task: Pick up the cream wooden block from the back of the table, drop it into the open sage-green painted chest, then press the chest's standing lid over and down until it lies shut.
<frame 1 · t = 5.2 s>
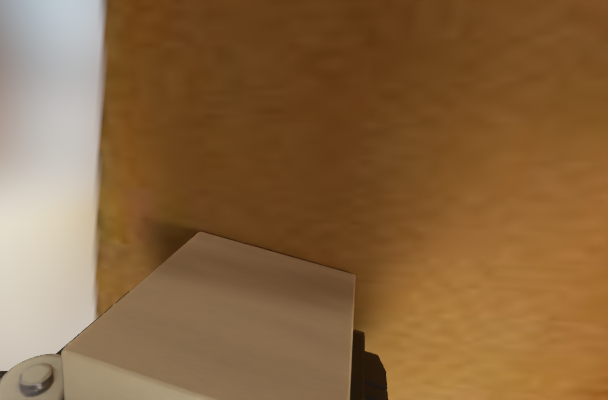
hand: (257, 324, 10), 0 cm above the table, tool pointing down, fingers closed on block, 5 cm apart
block: (262, 316, 11), on the table, touching gripper
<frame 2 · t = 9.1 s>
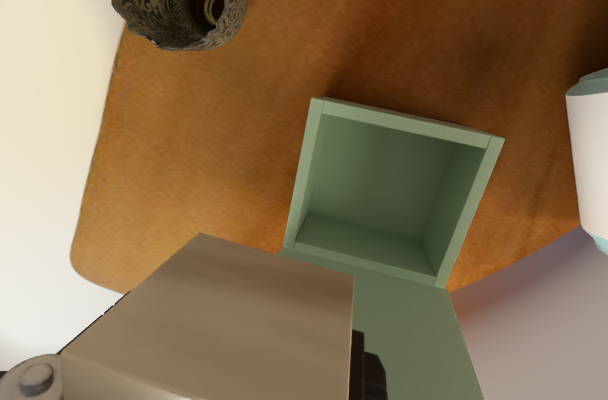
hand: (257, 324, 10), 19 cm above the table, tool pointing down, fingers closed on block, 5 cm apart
chest: (377, 174, 27), on the table
cup: (223, 11, 26), on the table
block: (262, 317, 11), point 19 cm above the table, touching gripper
lid: (358, 335, 17), point 13 cm above the table, hinge at 95.0°
when the fingers open (5 cm above the table, at t = 13.1 s): block drops 4 cm, resting on chest.
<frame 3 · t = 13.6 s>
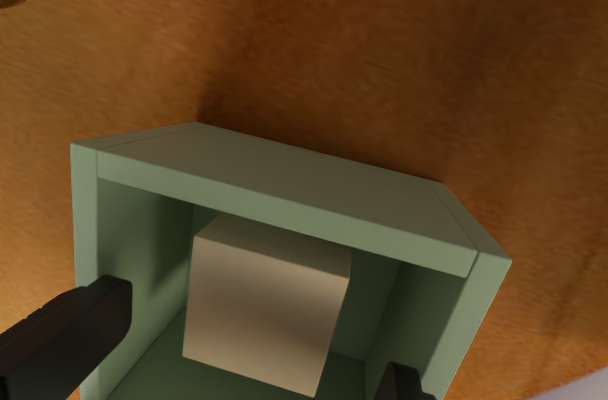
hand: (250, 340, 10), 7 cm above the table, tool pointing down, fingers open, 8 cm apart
chest: (291, 253, 16), on the table
block: (289, 252, 15), point 1 cm above the table, touching chest
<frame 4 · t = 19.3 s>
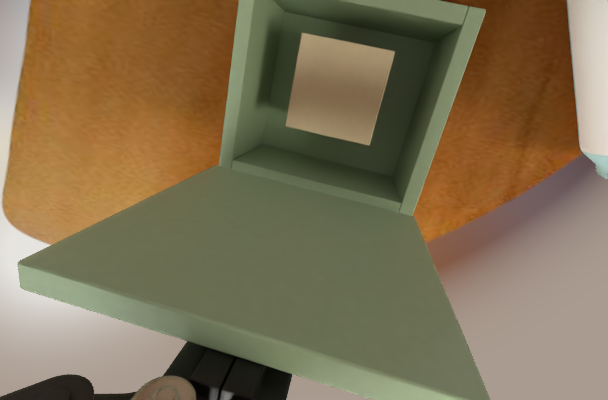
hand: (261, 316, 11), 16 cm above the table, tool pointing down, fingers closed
chest: (341, 97, 23), on the table
block: (342, 91, 22), point 1 cm above the table, touching chest
lid: (288, 239, 13), point 13 cm above the table, hinge at 89.6°, touching gripper
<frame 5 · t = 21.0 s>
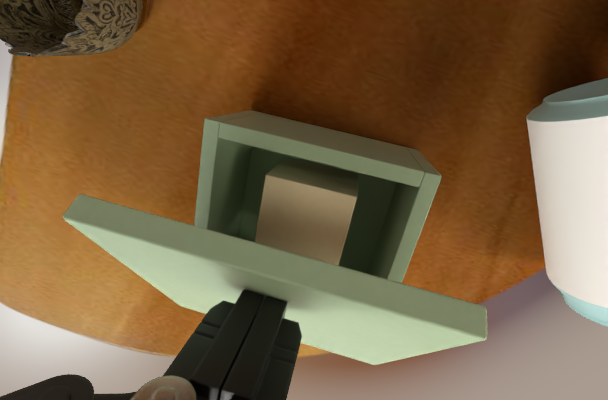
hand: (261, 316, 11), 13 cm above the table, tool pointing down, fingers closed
chest: (315, 201, 23), on the table
cup: (130, 6, 22), on the table
block: (314, 199, 23), point 1 cm above the table, touching chest
lid: (273, 306, 14), point 11 cm above the table, hinge at 39.9°, touching gripper
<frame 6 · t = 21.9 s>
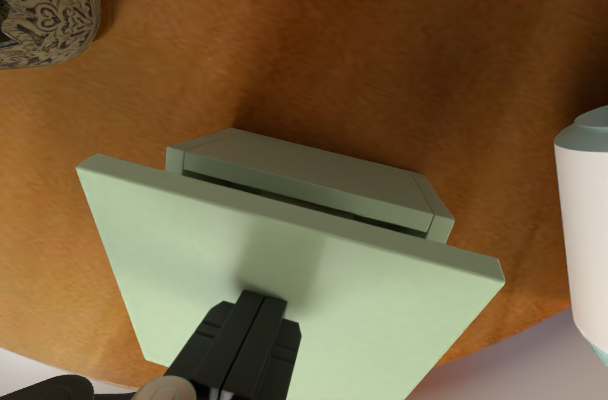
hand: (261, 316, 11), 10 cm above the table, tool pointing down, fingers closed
chest: (306, 230, 21), on the table
cup: (92, 10, 19), on the table
block: (304, 228, 20), point 1 cm above the table, touching chest
lid: (266, 324, 12), point 9 cm above the table, hinge at 18.1°
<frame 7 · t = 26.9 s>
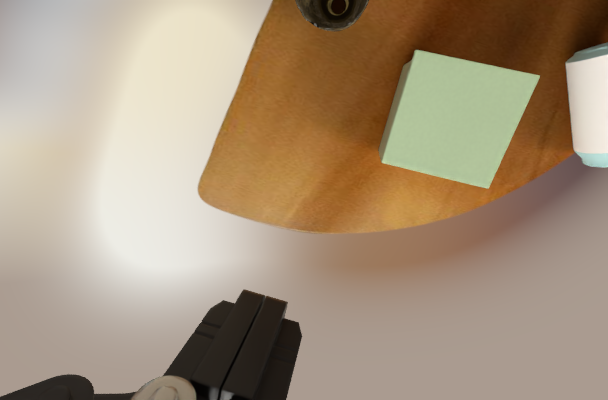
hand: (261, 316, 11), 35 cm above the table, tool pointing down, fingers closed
chest: (436, 120, 40), on the table
cup: (338, 6, 38), on the table
lid: (453, 122, 33), point 8 cm above the table, hinge at 2.3°
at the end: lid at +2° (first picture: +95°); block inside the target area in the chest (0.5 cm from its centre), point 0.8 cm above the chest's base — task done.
